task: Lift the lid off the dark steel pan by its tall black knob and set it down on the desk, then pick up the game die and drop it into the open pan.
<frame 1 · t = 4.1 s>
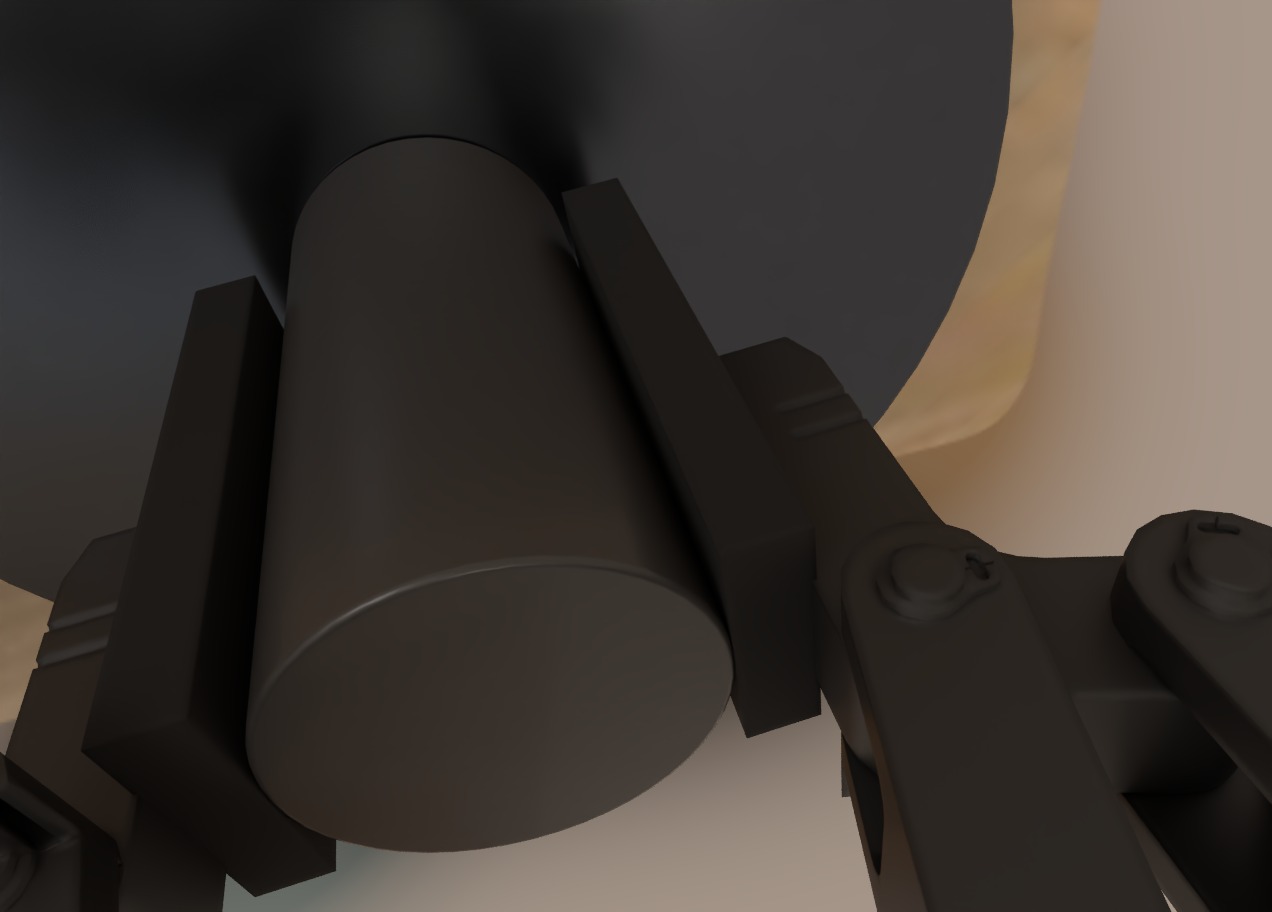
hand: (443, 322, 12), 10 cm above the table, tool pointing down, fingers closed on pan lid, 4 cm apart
pan lid: (431, 250, 14), point 8 cm above the table, touching gripper, pan
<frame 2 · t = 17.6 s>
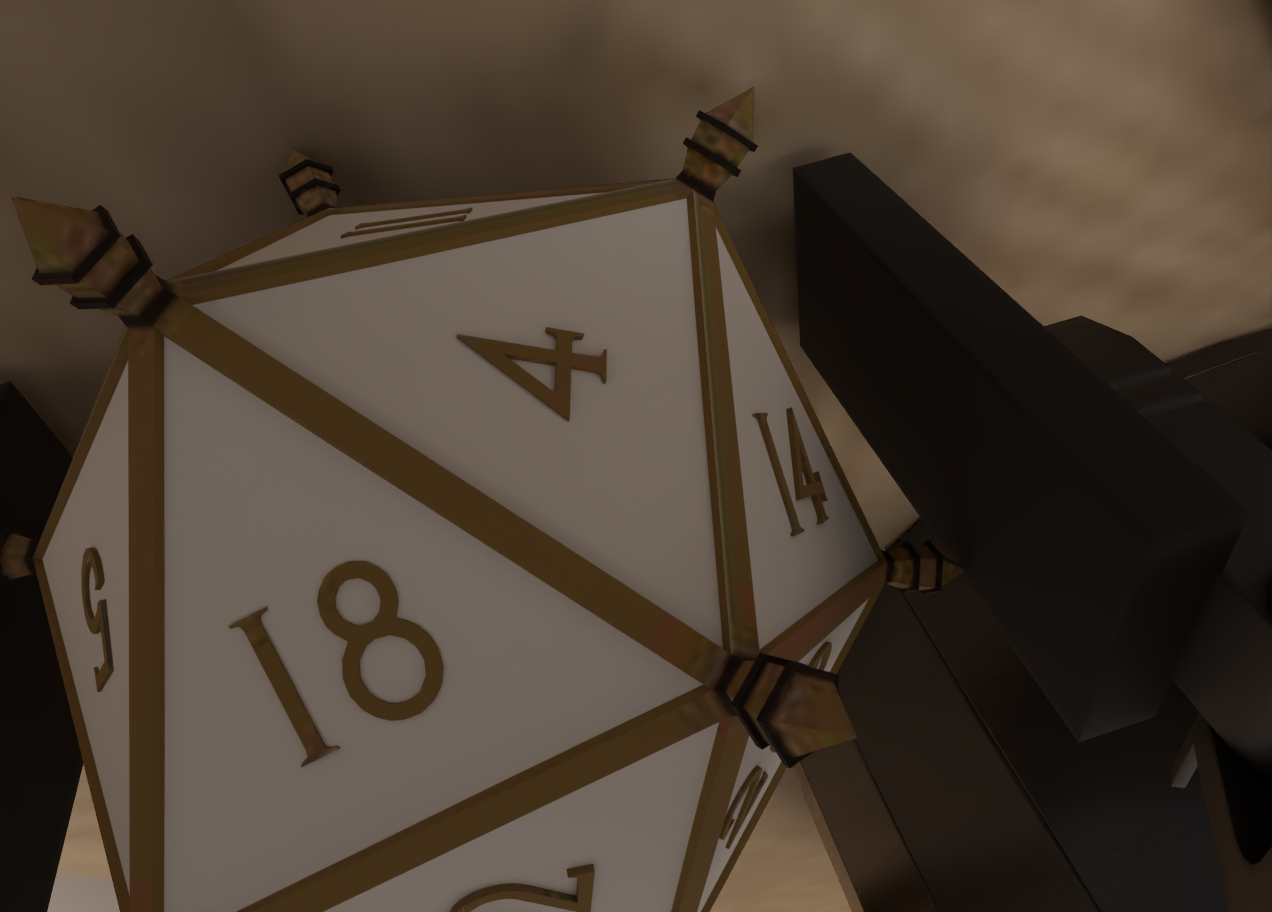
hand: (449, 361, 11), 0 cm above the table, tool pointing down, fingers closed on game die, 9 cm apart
pan: (1129, 629, 21), on the table
game die: (445, 336, 12), on the table, touching gripper
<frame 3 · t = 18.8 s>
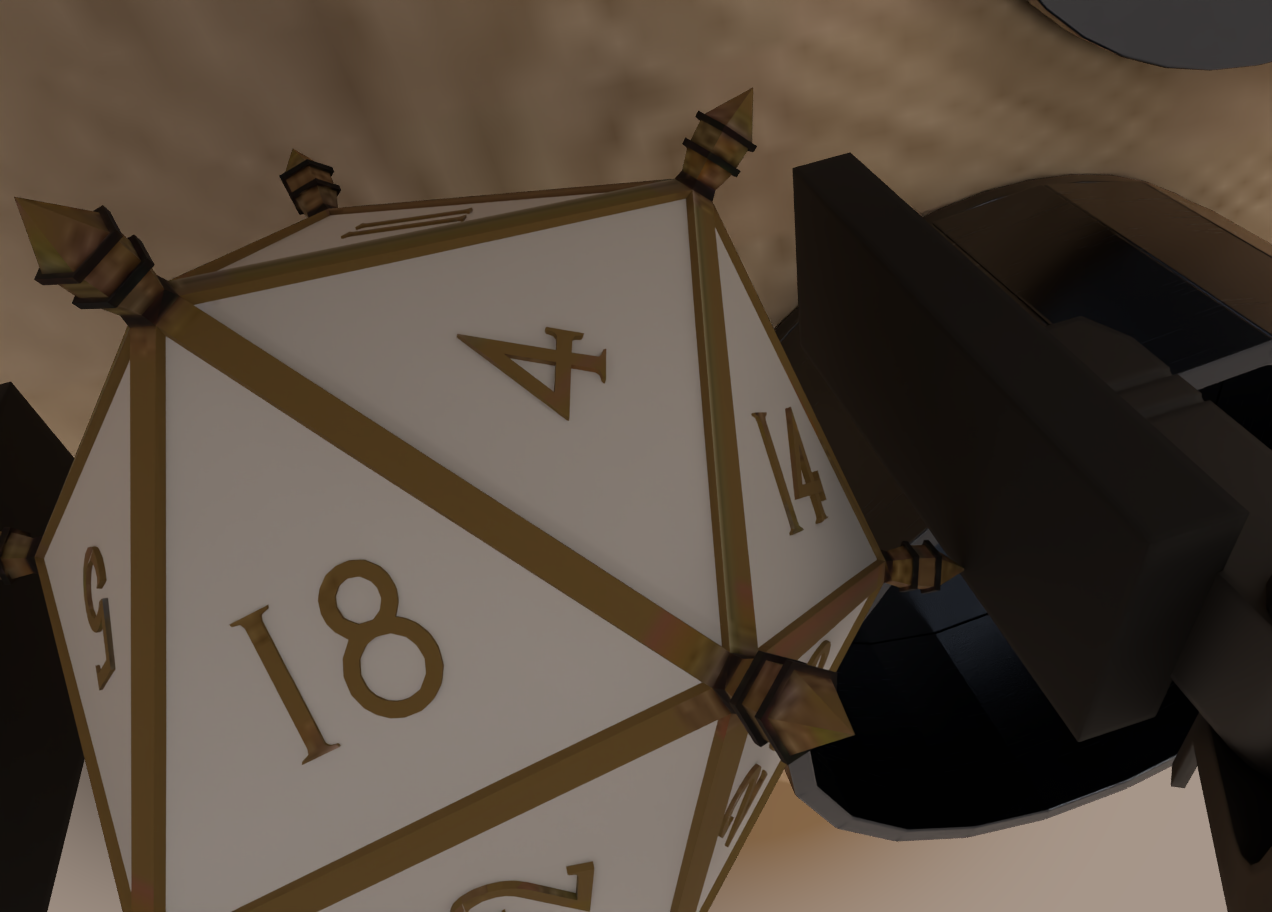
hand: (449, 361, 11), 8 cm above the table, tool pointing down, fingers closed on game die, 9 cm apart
pan: (966, 453, 27), on the table
game die: (446, 335, 12), point 7 cm above the table, touching gripper
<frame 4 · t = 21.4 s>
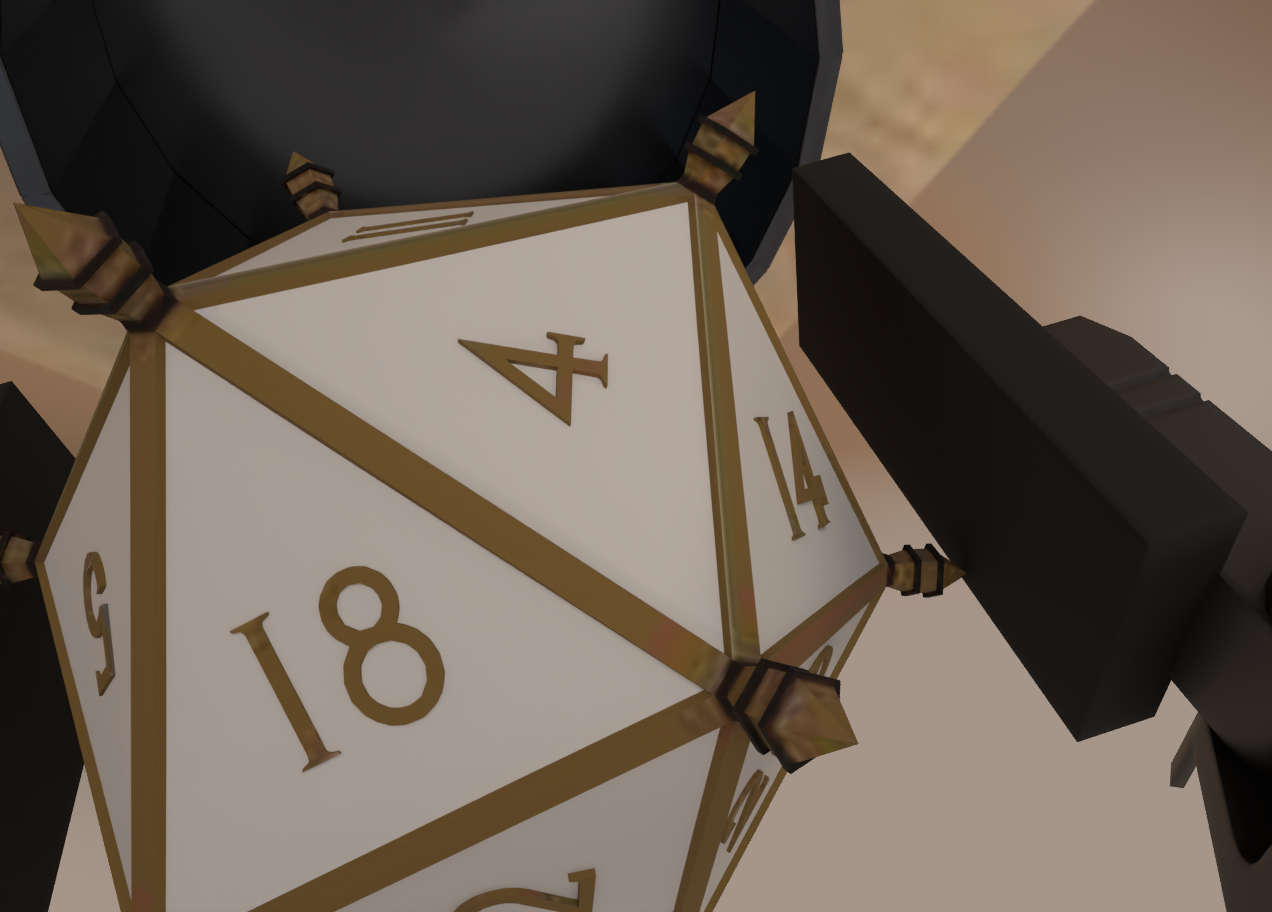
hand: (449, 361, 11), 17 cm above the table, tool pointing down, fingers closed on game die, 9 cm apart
pan: (431, 24, 24), on the table
game die: (447, 338, 12), point 17 cm above the table, touching gripper
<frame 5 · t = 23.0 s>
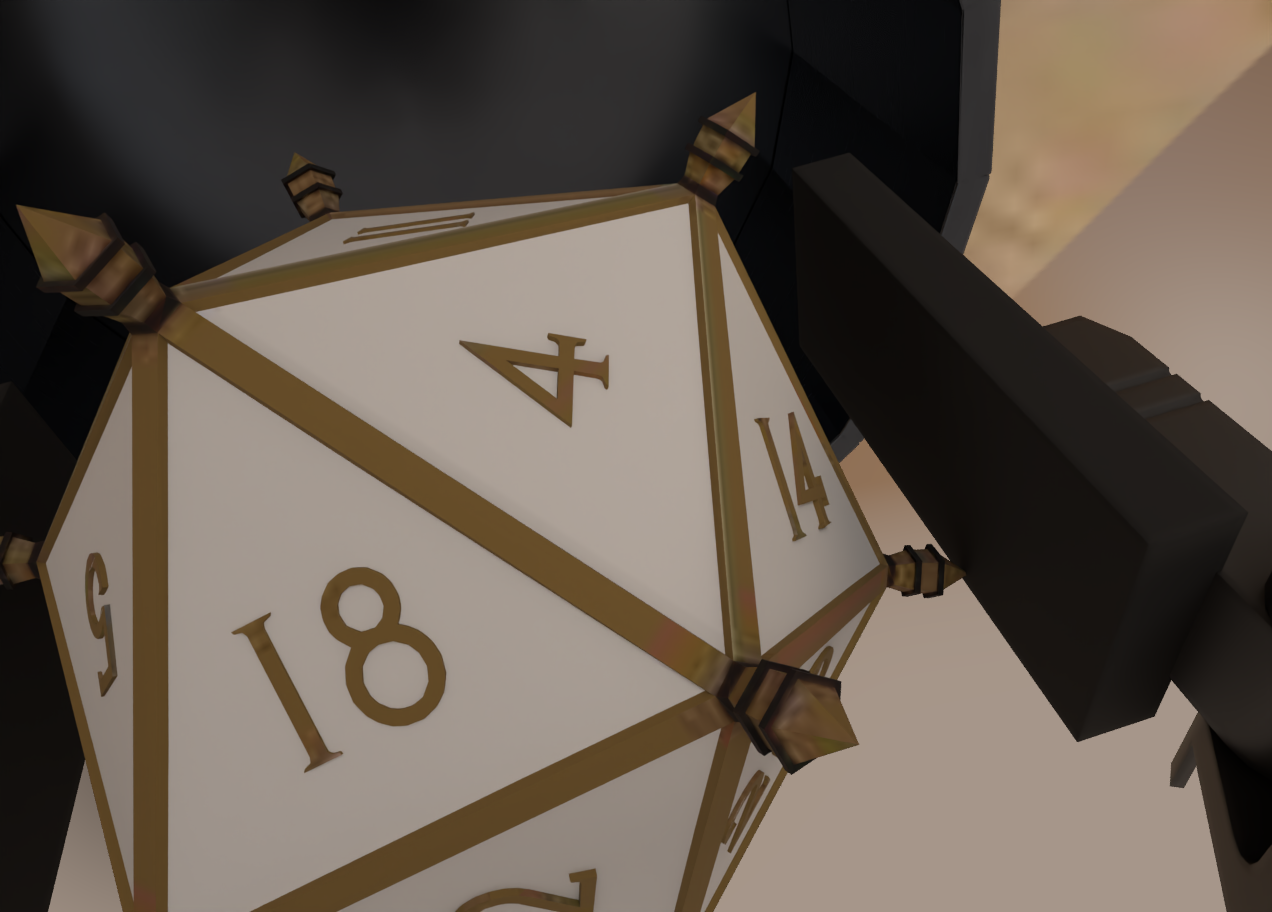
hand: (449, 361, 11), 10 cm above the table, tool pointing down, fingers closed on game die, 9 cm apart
pan: (408, 105, 18), on the table
game die: (447, 339, 12), point 9 cm above the table, touching gripper
when the fingers open (5 cm above the table, at t = 24.8 s): game die drops 4 cm, resting on pan.
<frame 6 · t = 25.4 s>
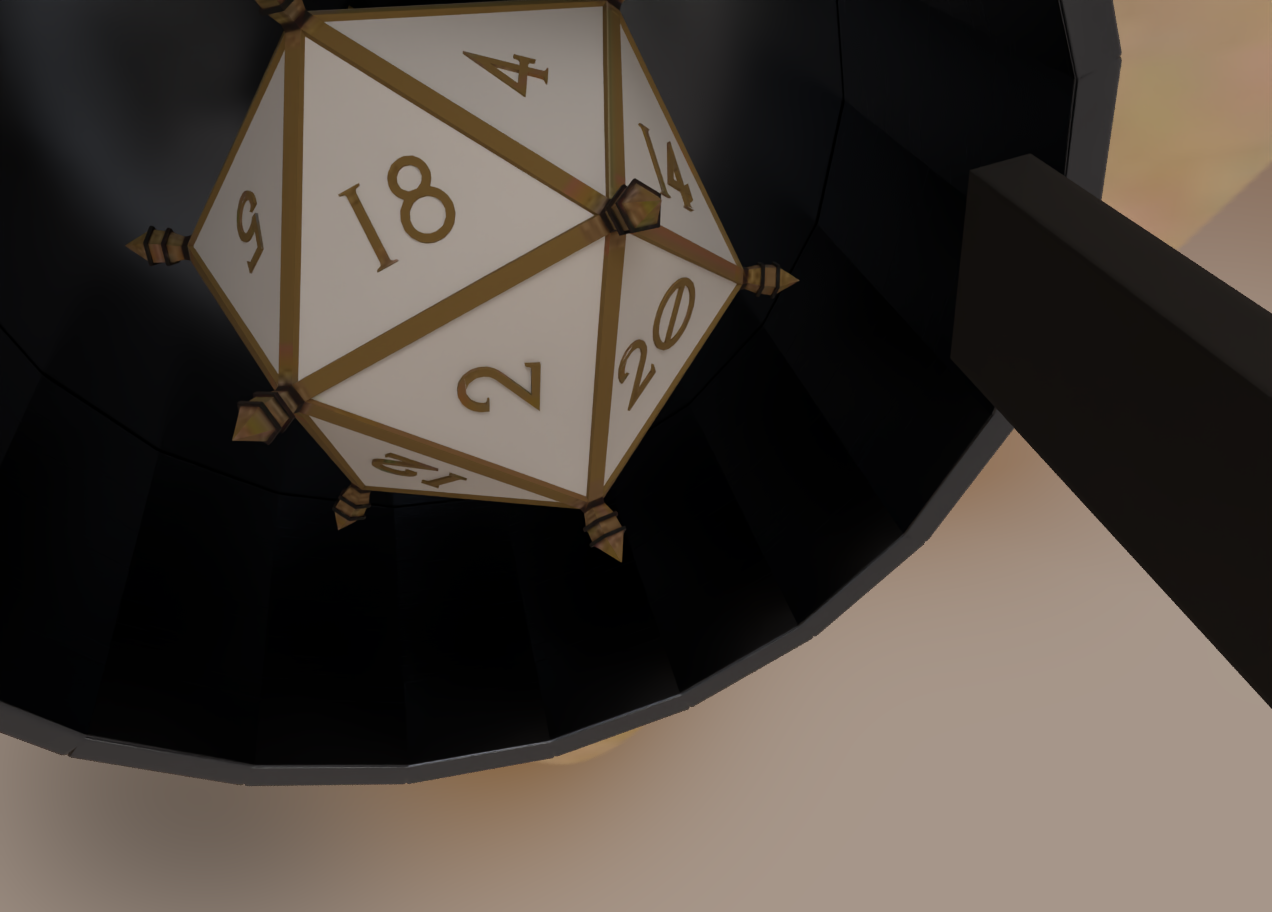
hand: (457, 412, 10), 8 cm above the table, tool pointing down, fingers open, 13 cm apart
pan: (420, 162, 17), on the table
game die: (450, 161, 16), resting on pan
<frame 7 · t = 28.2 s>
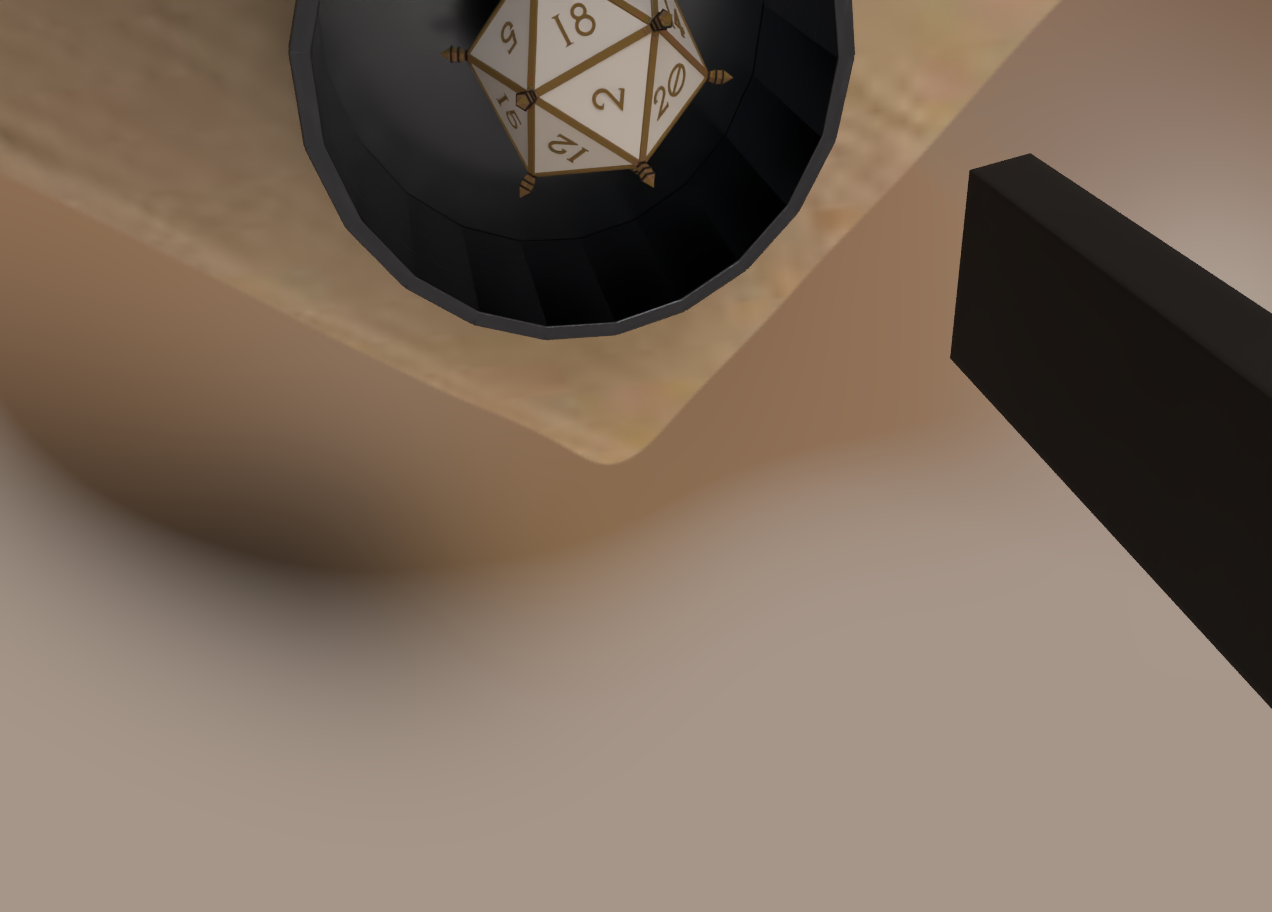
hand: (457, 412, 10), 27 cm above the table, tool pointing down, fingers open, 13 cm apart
pan: (550, 33, 33), on the table
game die: (566, 31, 33), resting on pan
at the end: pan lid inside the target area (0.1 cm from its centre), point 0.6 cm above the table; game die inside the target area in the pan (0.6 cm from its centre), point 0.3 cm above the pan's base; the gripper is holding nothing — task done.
